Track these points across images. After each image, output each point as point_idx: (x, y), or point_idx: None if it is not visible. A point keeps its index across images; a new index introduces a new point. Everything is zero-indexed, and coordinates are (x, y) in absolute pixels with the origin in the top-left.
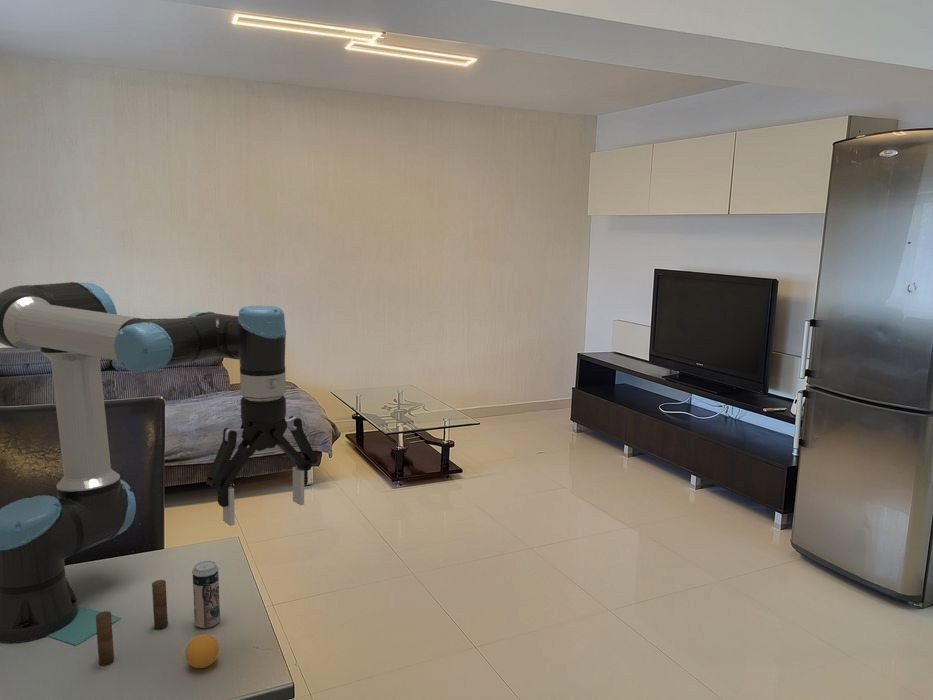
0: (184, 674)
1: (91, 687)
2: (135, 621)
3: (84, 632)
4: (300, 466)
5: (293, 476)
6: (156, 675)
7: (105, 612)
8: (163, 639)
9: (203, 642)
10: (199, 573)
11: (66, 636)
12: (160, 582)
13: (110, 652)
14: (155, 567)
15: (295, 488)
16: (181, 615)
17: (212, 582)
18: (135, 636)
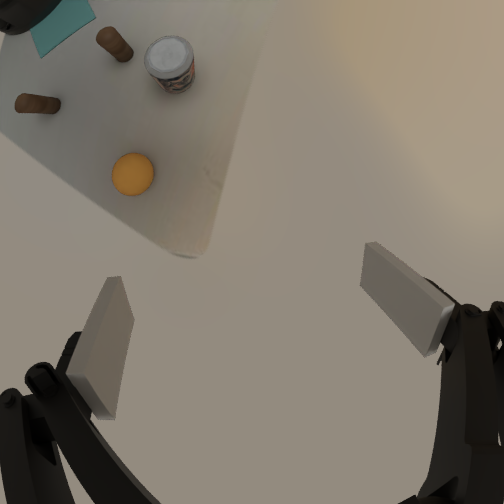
0: None
1: (35, 149)
2: None
3: (55, 35)
4: (449, 340)
5: (418, 294)
6: (88, 162)
7: (25, 96)
8: (116, 86)
9: (127, 188)
10: (150, 70)
11: (40, 37)
12: (108, 35)
13: (49, 112)
14: None
15: (390, 283)
16: None
17: (173, 80)
18: (92, 64)
